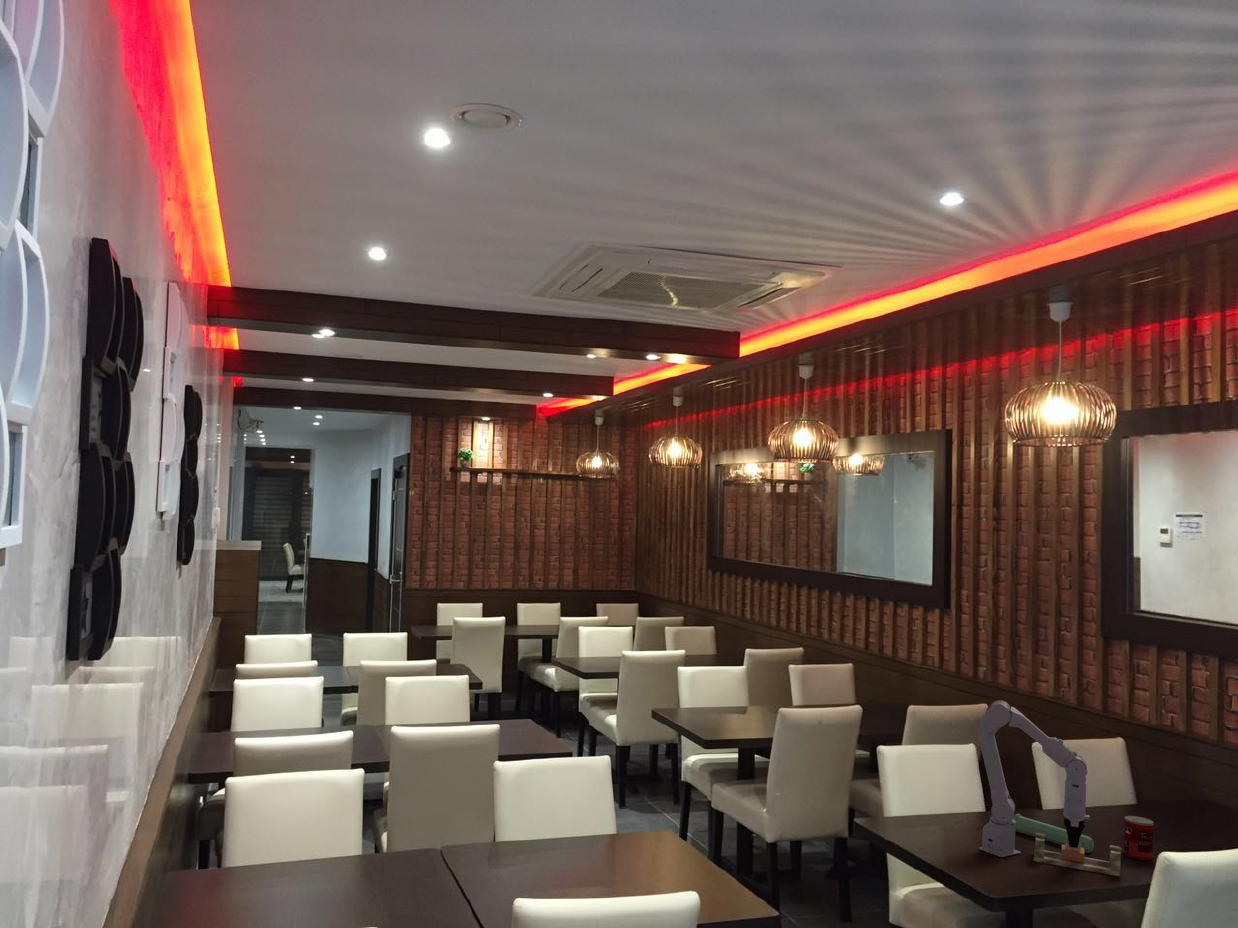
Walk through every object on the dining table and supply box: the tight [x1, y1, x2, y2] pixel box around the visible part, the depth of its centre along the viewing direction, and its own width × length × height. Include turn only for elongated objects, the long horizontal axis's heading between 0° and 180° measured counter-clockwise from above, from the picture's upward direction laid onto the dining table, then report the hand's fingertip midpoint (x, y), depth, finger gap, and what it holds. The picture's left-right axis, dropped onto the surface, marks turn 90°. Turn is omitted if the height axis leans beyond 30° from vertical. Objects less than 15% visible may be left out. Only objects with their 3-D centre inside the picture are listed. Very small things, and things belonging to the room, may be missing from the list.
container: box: [1013, 813, 1095, 854], centre depth 318 cm, size 6×6×25 cm
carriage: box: [1061, 829, 1086, 862], centre depth 297 cm, size 6×6×8 cm
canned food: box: [1123, 815, 1155, 861], centre depth 309 cm, size 8×8×11 cm
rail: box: [1033, 833, 1123, 877], centre depth 297 cm, size 23×8×7 cm, turn 66°
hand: (1073, 845), depth 297 cm, fingers closed on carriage, 2 cm apart
